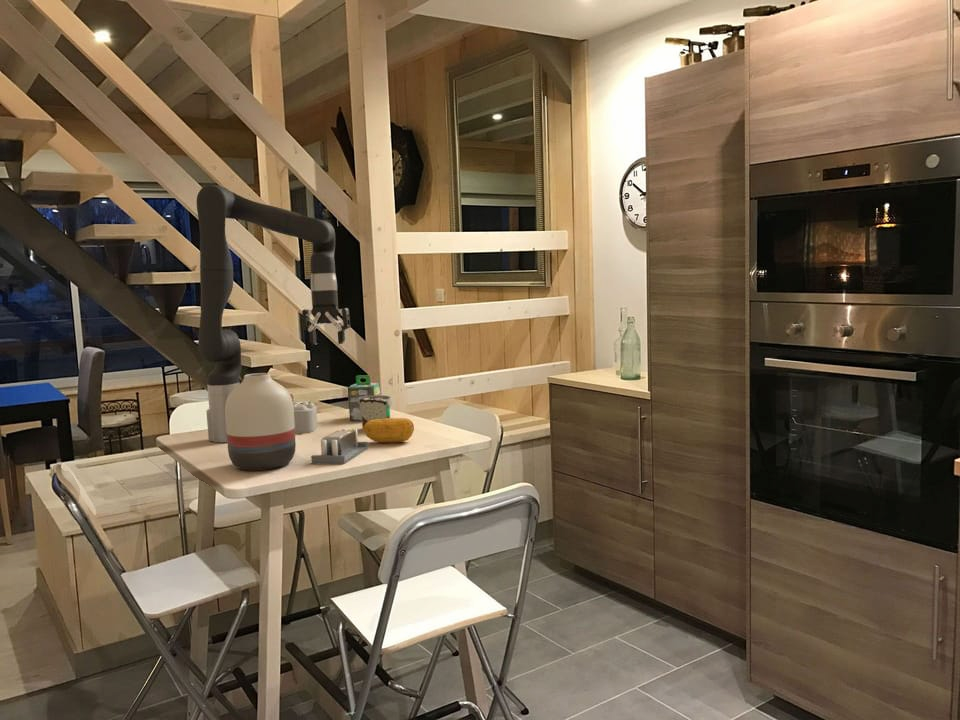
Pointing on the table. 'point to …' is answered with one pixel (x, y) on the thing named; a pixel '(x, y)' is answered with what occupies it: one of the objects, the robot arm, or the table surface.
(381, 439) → the potato
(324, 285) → the robot arm
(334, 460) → the grey pegged block
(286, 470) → the table surface
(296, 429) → the lumpy-topped squat cylinder
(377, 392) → the chalk box
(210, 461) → the table surface
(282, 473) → the table surface
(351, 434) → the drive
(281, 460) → the vase
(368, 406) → the food container
